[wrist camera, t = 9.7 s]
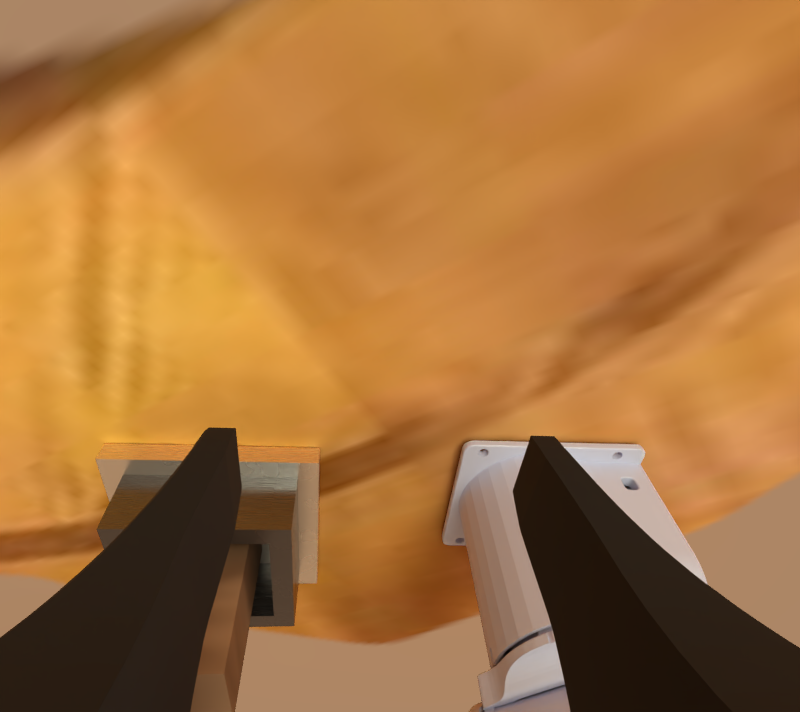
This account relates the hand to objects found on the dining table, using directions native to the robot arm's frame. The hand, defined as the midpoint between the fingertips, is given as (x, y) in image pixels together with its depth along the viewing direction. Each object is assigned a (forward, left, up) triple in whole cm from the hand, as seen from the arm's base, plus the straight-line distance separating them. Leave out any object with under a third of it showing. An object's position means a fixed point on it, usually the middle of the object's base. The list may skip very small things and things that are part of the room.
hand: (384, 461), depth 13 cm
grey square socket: (+7, +14, -9) cm, 18 cm away
